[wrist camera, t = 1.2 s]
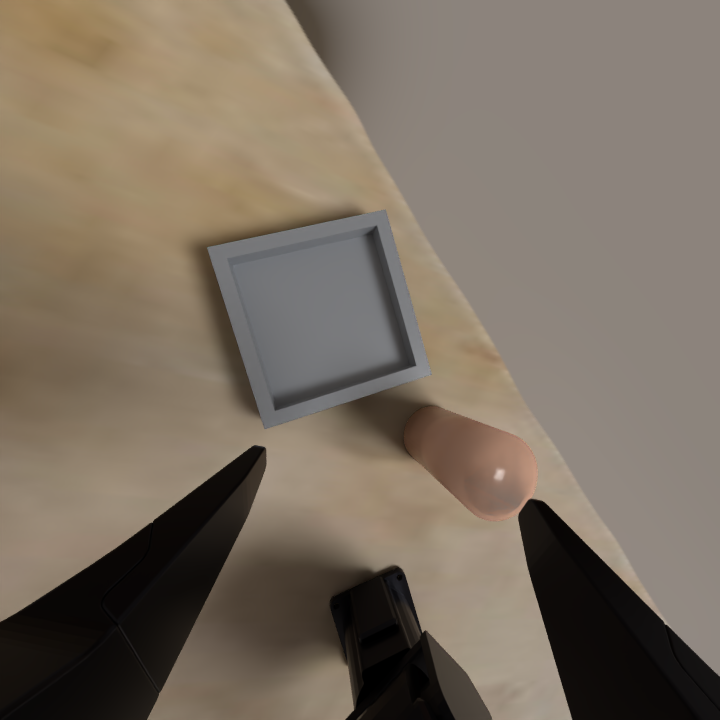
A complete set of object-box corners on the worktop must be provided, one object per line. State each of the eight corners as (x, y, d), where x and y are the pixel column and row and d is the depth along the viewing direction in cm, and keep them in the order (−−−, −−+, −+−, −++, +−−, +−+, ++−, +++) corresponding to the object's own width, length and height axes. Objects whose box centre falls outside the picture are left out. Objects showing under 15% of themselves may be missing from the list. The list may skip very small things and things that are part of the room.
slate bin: (419, 372, 25) (431, 374, 22) (269, 421, 22) (264, 429, 20) (377, 224, 24) (385, 209, 21) (218, 259, 22) (206, 247, 19)
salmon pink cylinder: (463, 451, 26) (546, 501, 17) (412, 471, 25) (471, 535, 16) (449, 398, 25) (525, 420, 16) (396, 416, 24) (448, 450, 16)
